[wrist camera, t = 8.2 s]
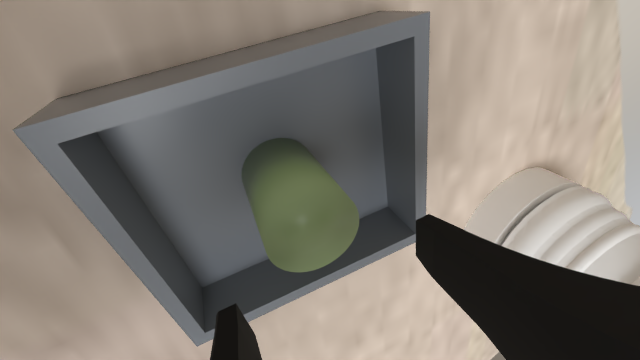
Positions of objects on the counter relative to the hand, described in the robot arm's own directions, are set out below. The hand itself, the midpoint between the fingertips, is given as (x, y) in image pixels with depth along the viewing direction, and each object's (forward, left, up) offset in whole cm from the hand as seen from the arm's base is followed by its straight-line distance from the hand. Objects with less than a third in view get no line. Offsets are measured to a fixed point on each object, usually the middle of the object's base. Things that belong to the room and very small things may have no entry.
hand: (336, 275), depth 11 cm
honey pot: (+22, -16, -9) cm, 29 cm away
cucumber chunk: (0, 0, -8) cm, 8 cm away
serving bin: (0, 0, -9) cm, 9 cm away
